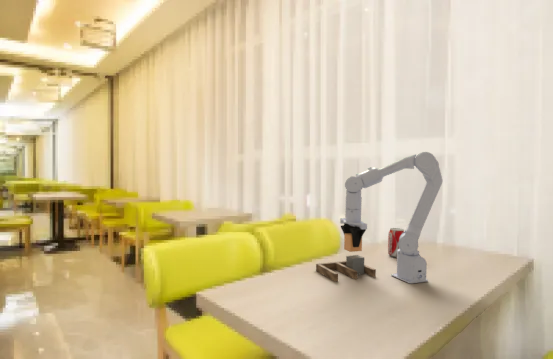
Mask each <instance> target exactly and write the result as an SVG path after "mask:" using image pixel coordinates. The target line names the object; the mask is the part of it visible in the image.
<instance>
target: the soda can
mask: <svg viewBox="0 0 553 359" xmlns="http://www.w3.org/2000/svg"><path fill="white" fill-rule="evenodd" d="M404 232H405V230H404V228H398V227H397V228H396V227H390V230H389V231H388V236H387V255H389V256H390V257H391V258H396V259H397V250H398V249H399V246H398V242H399V238H400V235H401V234H402V233H404Z"/></svg>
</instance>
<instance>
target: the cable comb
mask: <svg viewBox="0 0 553 359" xmlns="http://www.w3.org/2000/svg"><path fill="white" fill-rule="evenodd" d="M335 270H336V271H338V272H340V273H342V274H344V275H345V276H348V277H349V278H351V279H353V280H357V279H358V275H357V271H355V270H353V269H351V268H349V267H347V266H346V260H342V261H341V260H340V261H332V262H330V261H329V262H321V263H320V262H319V263H316V264H315V272H318V273H320V274H322V275H323V276H324V277H327V278H328V279H329V280H332V281H334V282H339V273H337V272H335ZM376 272H377V271H376V269H375V268H373V267H370V266H369V265H366V264H364V274H366V275H368V276H370V277H373V278H374V277H375V278H376V275H377V273H376Z"/></svg>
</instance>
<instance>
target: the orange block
mask: <svg viewBox="0 0 553 359" xmlns="http://www.w3.org/2000/svg"><path fill="white" fill-rule="evenodd" d="M343 240H344V242H343V250H344V251H347V252H349V253H353V252H354V253H355V252H362V251H363V237H362V238H361V241H360V245H359V247H353V242H352V234H351V233H345V236H344V239H343Z"/></svg>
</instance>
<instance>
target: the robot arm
mask: <svg viewBox="0 0 553 359" xmlns="http://www.w3.org/2000/svg"><path fill="white" fill-rule="evenodd" d="M415 167H416V169H417V170H418V171H419V172H420V173H421V174H422V176H423V177H424V180H425V185H424V187H423V190H422V192H421V194H420V197H419V198H418V200H417V203H416V206H415V209H414V210H413V213H412V215H411V218H410V221H409V223H408V224H407V227H406V229H405V230H404V233H402V234H401V235H400V238H399V242H398V246H399V249H398V250H397V258H396V273H391V277H394V278H397V279H398V280H401V281H403V282H405V283H408V284H416V283H417V284H418V283H425V282H429V279H427V269H428V268H427V266H428V265H427V261H426V259H425V257H423V256H421V254H420V250H418V249H419V239H420V236H421V234H422V230H423V227H424V225H425V223H426V220H427V219H428V216H429V214H430V213H431V211H432V210H431V209H432V207H433V206H434V202H435V201H436V198H437V196H438V194H439V191H440V190H441V186H442V184H443V176H442V173H441V168H440V164H439V161H438V160H437V159H436V157H435V155H434V154H433V153H431V152H428V151H422V152H420V153H418V154H413V155H409V156H407V157H403V158H401V159H399V160H397V161H394V162H392V163H390V164H388V165H386V166H383V167H382V168H378V167H368V168H367V170H365V171H363V172H361V173H358V172H357V173H355V176H352V175H351V176H350V177H348V178H347V179H346V180H345V183H344V187H345V190H346V191H345V195H346V196H345V214H344V215H345V217H343V218H340V219H339V220H340V222H339V223H340V224H343V225H340V228H341V230H342V233H343V235H344V236H345V233H351V234H352V242H353V247H359V245H360V241H361V238H362V239H363V236H364V234H365V232H366V231H367V230H368V223H366V222H364V221H362V200H363V199H362V190H363V189H367V188H369V187H372V186H374V185H377V184H380V183H381V182H382V181H383V179H384V177H387V176H389V175H392V174H394V173H397V172H399V171H402V170H405V169H408V170H414V169H415Z"/></svg>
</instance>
